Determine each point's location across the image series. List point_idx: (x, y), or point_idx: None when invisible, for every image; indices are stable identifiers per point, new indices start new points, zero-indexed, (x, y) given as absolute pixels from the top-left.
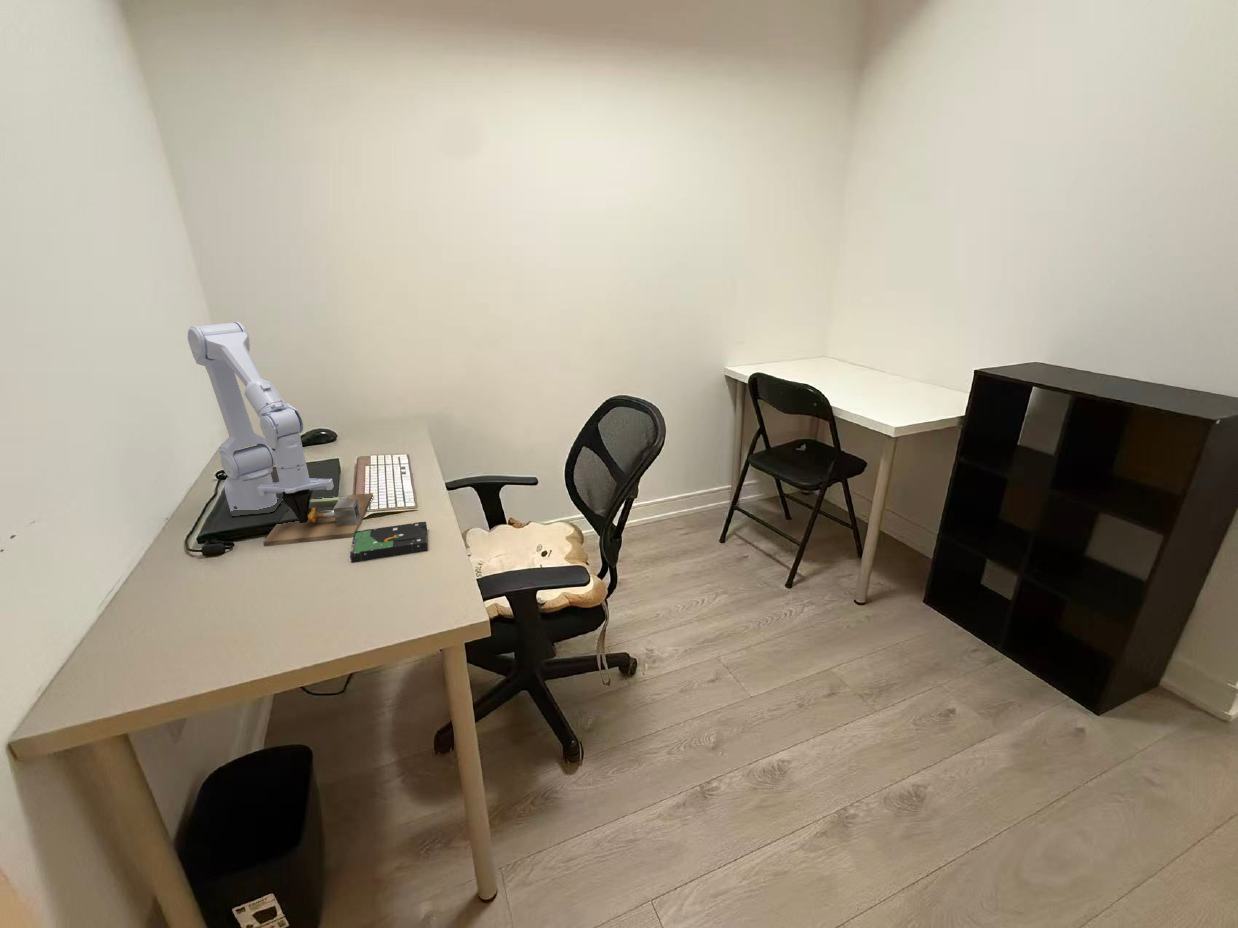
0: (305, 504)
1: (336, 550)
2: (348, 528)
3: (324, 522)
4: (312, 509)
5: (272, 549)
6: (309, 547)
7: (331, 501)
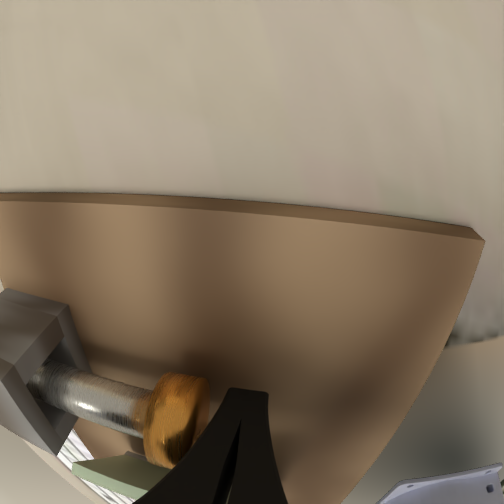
0: (141, 497)
1: (21, 54)
2: (12, 257)
3: (154, 374)
4: (153, 453)
5: (421, 153)
6: (158, 103)
7: (122, 474)
